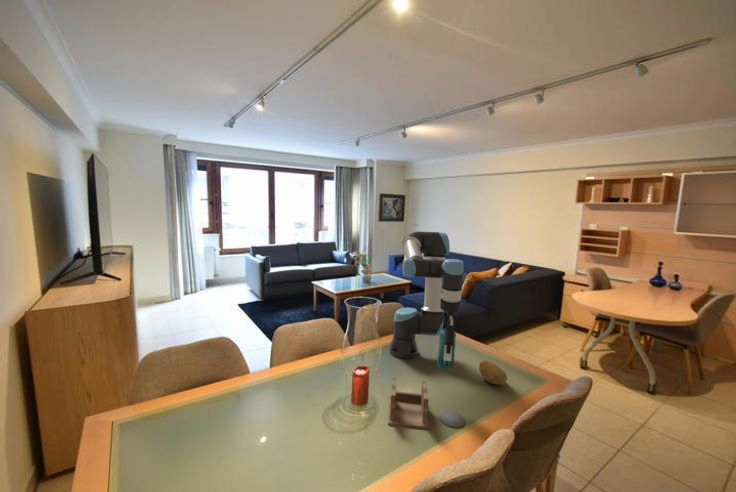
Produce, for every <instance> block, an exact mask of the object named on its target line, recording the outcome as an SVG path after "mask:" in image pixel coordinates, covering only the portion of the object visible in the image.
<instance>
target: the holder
mask: <svg viewBox="0 0 736 492" xmlns="http://www.w3.org/2000/svg"><path fill="white" fill-rule="evenodd" d="M391 382H392V383H391V393H390V397H389V408H388V409H389V410H388V422H387V423H388V426H399V427H405V428H412V429H413V428H414V429H415V428H416V429H421V430H429V420H428V412H429V411H428V410H429V394H428V393H429V392H428V385H427V384H428V383H427V381H426V380H422V381H421V393H412V392H404V391H397V377H392V379H391Z"/></svg>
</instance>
